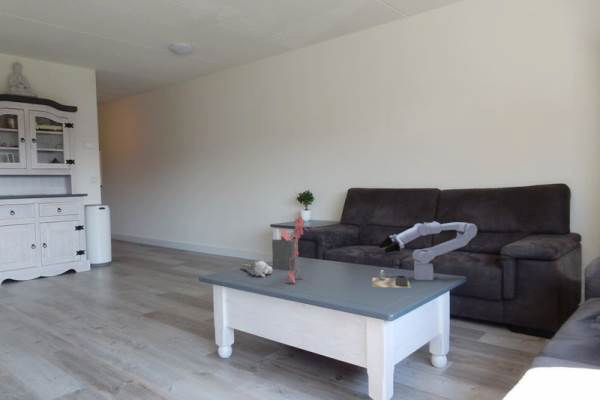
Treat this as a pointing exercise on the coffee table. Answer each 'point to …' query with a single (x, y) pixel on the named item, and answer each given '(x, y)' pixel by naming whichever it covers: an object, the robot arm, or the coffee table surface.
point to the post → (382, 275)
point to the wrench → (250, 267)
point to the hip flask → (283, 254)
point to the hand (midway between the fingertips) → (382, 248)
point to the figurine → (297, 232)
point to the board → (386, 283)
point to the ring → (401, 280)
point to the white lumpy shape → (263, 269)
